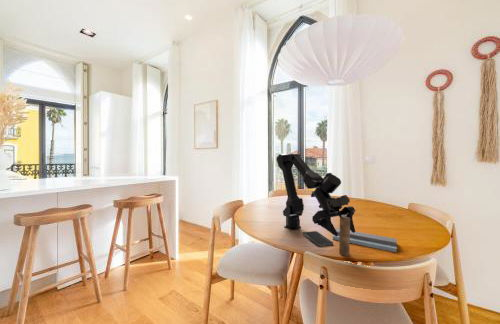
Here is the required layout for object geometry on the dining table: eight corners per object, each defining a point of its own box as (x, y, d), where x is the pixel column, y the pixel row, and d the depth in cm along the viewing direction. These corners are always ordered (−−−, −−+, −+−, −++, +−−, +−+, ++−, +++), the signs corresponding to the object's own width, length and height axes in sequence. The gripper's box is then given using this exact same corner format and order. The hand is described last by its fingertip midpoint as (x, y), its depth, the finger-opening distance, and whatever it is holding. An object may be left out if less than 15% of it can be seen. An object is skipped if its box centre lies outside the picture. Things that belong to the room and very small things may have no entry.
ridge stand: (332, 239, 100) (332, 232, 100) (337, 232, 109) (337, 226, 109) (396, 252, 87) (396, 245, 87) (396, 243, 96) (396, 236, 96)
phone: (317, 245, 93) (301, 232, 107) (317, 247, 93) (301, 234, 107) (334, 243, 94) (316, 230, 109) (334, 245, 94) (316, 233, 109)
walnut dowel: (337, 253, 86) (338, 217, 86) (342, 250, 89) (342, 216, 88) (346, 256, 84) (347, 220, 83) (351, 254, 86) (351, 218, 85)
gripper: (317, 190, 85) (340, 227, 76) (352, 186, 93) (376, 220, 84) (304, 206, 93) (323, 241, 83) (337, 201, 101) (357, 234, 91)
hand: (345, 234), depth 85 cm, fingers open, 9 cm apart
